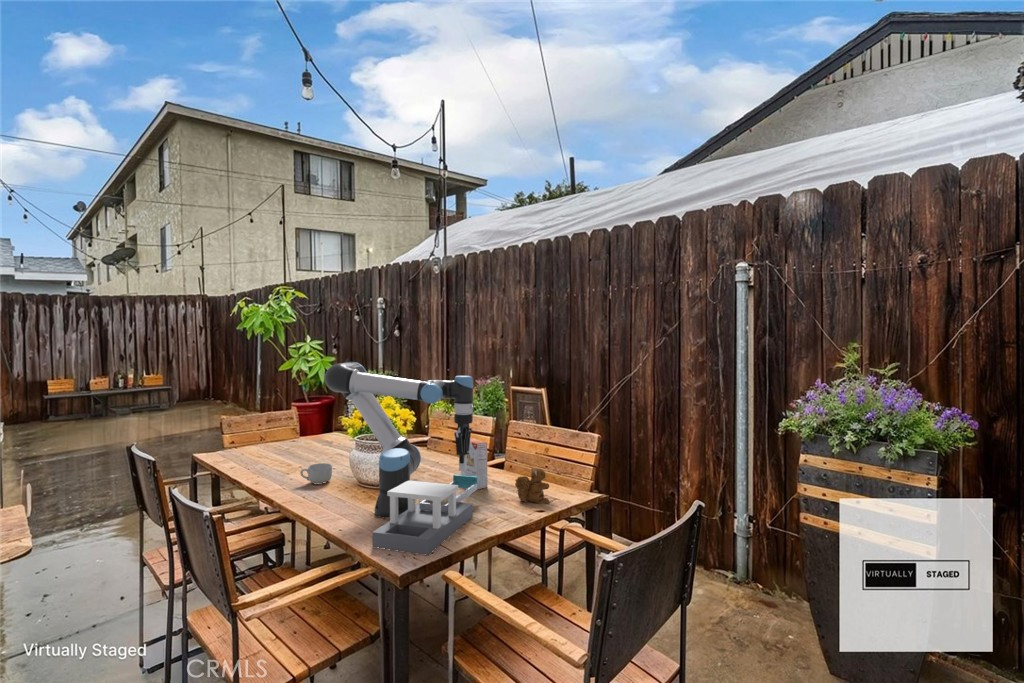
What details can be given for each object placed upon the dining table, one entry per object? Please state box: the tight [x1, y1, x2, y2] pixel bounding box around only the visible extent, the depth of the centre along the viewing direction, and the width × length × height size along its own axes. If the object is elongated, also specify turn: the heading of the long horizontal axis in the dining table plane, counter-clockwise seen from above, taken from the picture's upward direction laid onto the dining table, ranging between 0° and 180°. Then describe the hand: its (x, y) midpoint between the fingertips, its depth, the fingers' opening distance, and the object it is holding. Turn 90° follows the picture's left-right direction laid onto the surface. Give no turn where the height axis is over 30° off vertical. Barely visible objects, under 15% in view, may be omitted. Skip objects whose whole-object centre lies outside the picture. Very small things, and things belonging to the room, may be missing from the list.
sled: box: [419, 474, 478, 513], centre depth 196 cm, size 11×30×5 cm, turn 162°
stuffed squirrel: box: [514, 467, 550, 504], centre depth 210 cm, size 10×14×13 cm
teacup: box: [299, 462, 333, 484], centre depth 236 cm, size 14×11×8 cm
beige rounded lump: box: [429, 497, 448, 505], centre depth 187 cm, size 6×6×6 cm
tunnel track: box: [371, 480, 474, 556], centre depth 177 cm, size 20×36×16 cm, turn 162°
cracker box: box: [460, 437, 488, 490], centre depth 231 cm, size 14×6×21 cm, turn 37°
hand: (462, 470), depth 208 cm, fingers closed
